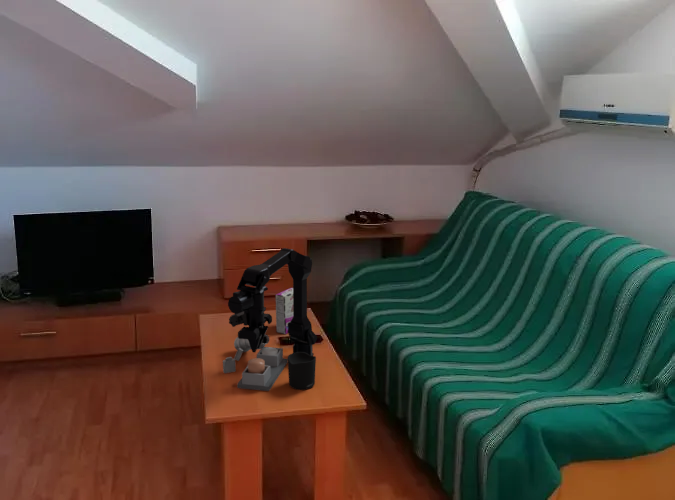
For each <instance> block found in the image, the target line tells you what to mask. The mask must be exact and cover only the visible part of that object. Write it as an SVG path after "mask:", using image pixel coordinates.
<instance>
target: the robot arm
mask: <svg viewBox="0 0 675 500" xmlns="http://www.w3.org/2000/svg"><path fill="white" fill-rule="evenodd" d="M286 265H287V268H288V273H289V274H290V277H291V278H292V288H293V318H292V320H291V322H289V323H288V333H287V334H288V336H289V340H290V342H294V344H293V345H292V353H296V352H305V353H307V354H309V355H311V356H314V354H315V353H314V352H313V345H316V344H315V343H317V339H318V336H317V334H316V333H315V332H314V331H313V329H312V323H311V321H310V318H309V317H308V277H309V276H310V274H311V272H312V267H313V260H312V258H311V257H310V256H309V255H304V254H302V253H299V252H297V251H296V250H295V249H291V248H286V247H283V248H281V249H280V250H279V252H277V253H275V254H274V255H273V256H271V257H269V258H268V259H267V260H266V261H264V262H262V263H260V264H256V265H255V264H254V265H251V266H249V267H247V268H246V269H244V270H243V273H242V275H241V277H240V280H239V283H238V285H237V287H236V290H237V291H234V292H233V293H232V296H230V298H229V299H228V302H227V306H228V308H229V310H230V311H231V313H233V314H232V315H230V317H229V318H228V320H229V321H228V323H229V325H231V326H232V328H235V327H237V326H239V325H243V327H242V328H241V329H240V330H239V331H238V332H237V337H238V338H239V339H248V341H249V344H250V347H251V351H252V353H253V354H255V353H256V352H257V350H258V349H257V348H259V347H260V345H261V343H262V340H263V338H264V336H265V334H266V333H267V331H268V329H269V326H268V325H270V324H272V322H273V316H272V315H271V314H270V313H265V311H266V310H267V307H266V306H265V292H266V291H269V288H268V287H267V286H266V285H267V284H268V283H269V281H270V279H271V276H272V275H273V274H275V273H277V272H278V271H279V270H280V269H282V268H283V267H285V266H286ZM266 322H267V324H268V325H265V323H266Z"/></svg>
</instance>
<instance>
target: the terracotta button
mask: <svg viewBox="0 0 675 500" xmlns="http://www.w3.org/2000/svg"><path fill="white" fill-rule="evenodd" d="M247 366H248V373H256V374H263V373H264V372H265V361H264V360H263V359H260V358H257V357H255V358H251V359H249V360H248V361H247Z"/></svg>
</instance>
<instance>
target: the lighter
mask: <svg viewBox="0 0 675 500" xmlns="http://www.w3.org/2000/svg"><path fill="white" fill-rule="evenodd" d="M243 353H244V352H243V349H241V348H238V350H236V353H235V355H234V357H232V356H228V357H226V358H225V359H223V360H222V372H223V373H224V374H230V373H235V372H236V370H237V369H236V364H237V363H236V361H237V362H238V361H240V359H241V357H242V354H243Z"/></svg>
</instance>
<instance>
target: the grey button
mask: <svg viewBox="0 0 675 500" xmlns="http://www.w3.org/2000/svg"><path fill="white" fill-rule="evenodd" d="M276 348H277V347H273V348H264V349H263V350H262V354H264V355H275V356H276V355H277V353H278V350H277V349H276Z"/></svg>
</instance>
